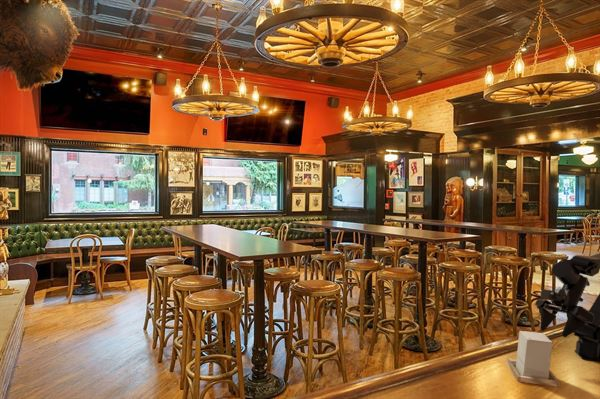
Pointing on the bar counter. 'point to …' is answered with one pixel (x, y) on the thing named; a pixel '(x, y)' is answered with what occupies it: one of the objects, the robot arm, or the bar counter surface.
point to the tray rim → (540, 381)
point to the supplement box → (533, 355)
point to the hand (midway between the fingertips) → (552, 333)
